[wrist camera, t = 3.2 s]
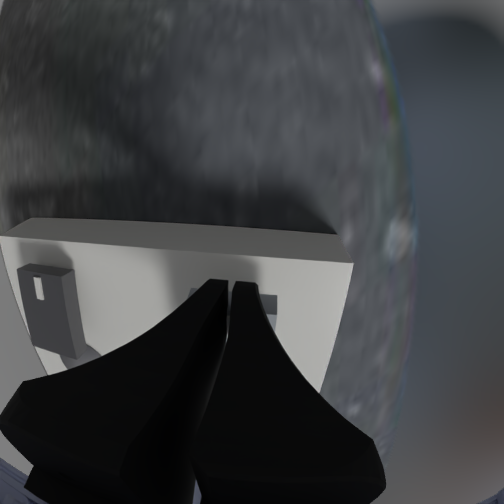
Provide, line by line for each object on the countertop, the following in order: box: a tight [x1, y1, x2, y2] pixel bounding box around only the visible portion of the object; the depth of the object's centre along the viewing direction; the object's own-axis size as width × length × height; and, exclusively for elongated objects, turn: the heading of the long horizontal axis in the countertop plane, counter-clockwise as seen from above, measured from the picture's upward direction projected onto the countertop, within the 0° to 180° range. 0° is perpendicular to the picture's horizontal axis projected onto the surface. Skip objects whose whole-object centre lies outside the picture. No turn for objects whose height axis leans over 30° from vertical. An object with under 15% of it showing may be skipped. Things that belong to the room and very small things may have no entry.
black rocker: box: [17, 263, 87, 360], centre depth 11 cm, size 4×3×1 cm
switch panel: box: [0, 217, 354, 393], centre depth 14 cm, size 10×17×3 cm, turn 87°
